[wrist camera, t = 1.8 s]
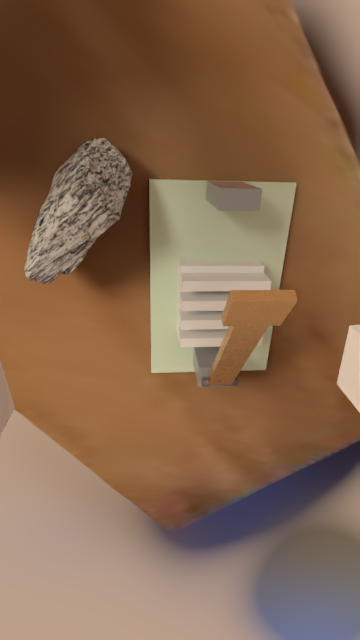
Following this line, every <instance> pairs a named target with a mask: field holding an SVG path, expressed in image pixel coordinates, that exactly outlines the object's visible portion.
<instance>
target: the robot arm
mask: <svg viewBox="0 0 360 640" xmlns="http://www.w3.org/2000/svg"><path fill="white" fill-rule="evenodd" d="M337 385H338V386H339V387H340V389H341V390H342V391H343V392H344V394H345V395H346V396H347V397H348V399H349V400H350V401H351V402H352V404H353V405H354V406H355V407H356V409H357V410H358V411H359V412H360V325H350V326H349V330H348V335H347V339H346V344H345V348H344V353H343V358H342V362H341V367H340V371H339V376H338V380H337ZM14 408H15V407H14V404H13V401H12V397H11V394H10V391H9V388H8V384H7V381H6V378H5V374H4V371H3V368H2V365H1V361H0V436H1V434H2V432H3V430H4V428H5V426H6V424H7V422H8V420H9V418H10V416H11V414H12V412H13V410H14Z"/></svg>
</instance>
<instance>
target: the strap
mask: <svg viewBox="0 0 360 640" xmlns="http://www.w3.org/2000/svg"><path fill="white" fill-rule="evenodd" d="M296 302H297V297H296V293H295V290H231V291H230V294H229V297H228V299H227V302H226V305H225V308H224V311H223V313H222V324H223V326H229V327H228V329H227V331H226V334H225V336H224V339H223V341H222V343H221V346H220V348H219V351H218V353H217V355H216V358H215V360H214V363H213V365H212V367H211V370H210V372H209V375H208V377H201V385H202V387H209V386H237V383H238V381H237V375H238V374H239V372H240V371H241V369H242V367H243V366H244V364H245V363H246V361H247V360H248V358H249V356H250V355H251V353H252V352H253V350H254V349H255V347H256V345H257V344H258V342H259V341H260V339H261V338H262V336H263V334H264V333H265V331H266V330H267V328H268V327H269V326H280V325H281V324H282V323H283V321H284V320H285V318H286V317H287V315H288V314H289V312H290V311H291V310H292V308H293V307H294V305H295V304H296Z"/></svg>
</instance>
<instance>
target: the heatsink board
mask: <svg viewBox="0 0 360 640" xmlns="http://www.w3.org/2000/svg"><path fill="white" fill-rule="evenodd" d="M296 184H297V183H295V182H262V181H219V180H176V179H149V206H150V297H151V373H168V372H195V375H196V380H197V385H198V387H202V385H201V377H208V375H209V372H210V370H211V367H212V365H213V363H214V360H215V358H216V355H217V353H218V351H219V348H220V346H221V343H222V341H223V339H224V336H225V334H226V331H227V329H228V327H229V326H223V324H222V313H223V311H224V308H225V305H226V302H227V299H228V297H229V294H230V291H231V290H279V287H280V281H281V275H282V269H283V263H284V257H285V251H286V245H287V239H288V233H289V227H290V221H291V215H292V209H293V203H294V196H295V190H296ZM272 329H273V326H269V327H268V328H267V330H266V331H265V333H264V334H263V336H262V338H261V339H260V341H259V342H258V344H257V345H256V347H255V349H254V350H253V352H252V353H251V355H250V356H249V358H248V360H247V361H246V363H245V364H244V366H243V367H242V369H241V371H245V370H266V366H267V360H268V354H269V348H270V342H271V335H272ZM209 387H221V386H209Z"/></svg>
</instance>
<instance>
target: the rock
mask: <svg viewBox="0 0 360 640" xmlns="http://www.w3.org/2000/svg"><path fill="white" fill-rule="evenodd" d="M131 176H132V171H131V170H130V166H129V164H128V162H127V160H126V159H125V157H124V156H123V155H122V154H121V153H120V151H119V150H118V149H117V148H116V147H114V146H113V145H112V144H111V143H110V142H109V141H107V140H106V139H105V138H99V139H97V138H95V139H93V140H88V141H87V142H86V143H83V144H82V145H81V146H80V147H79V148H78V149H77V151H76V152H75V153H74V154H73V155H72V156H71V157H70V158H69V159H67V160H66V161H65V162H64V164H62V165H61V166H60V167H59V169H58V170H57V172H56V173H55V175H54V177H53V181H52V185H51V189H50V192H49V194H48V196H47V198H46V200H45V202H44V203H43V205H42V208H41V210H40V213H39V215H38V219H37V222H36V225H35V227H34V231H33V233H32V236H31V238H32V240H31V242H30V243H29V249H28V252H27V259H28V261H27V263H26V265H25V274H26V277H27V279H28V280H30V281H34V280H35V281H37V282H40V283H47V284H48V283H50V282H51V281H53V280H55V279H56V278H57V277H58V276H59V275H60V274H62V273H63V274H69V273H71V272H72V271H73V270H74V269H75V268H76V267H77V266H78V265H79V264H80V262H81V261H82V260H83V258H84V257H85V256H86V254H87V251H88V250H89V249H90V248H91V246H92V245H93V243H94V242H95V241H96V240H97V238H98V237H99V236H100V235H101V234H103V233H105V232H106V231H107V229H108V228H109V227H110V226H112V225H113V224H115V223H116V222H117V221H118V220H119V219H120V216H121V210H122V208H123V205H124V202H125V199H126V197H127V194H128V191H129V188H130V186H131Z"/></svg>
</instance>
